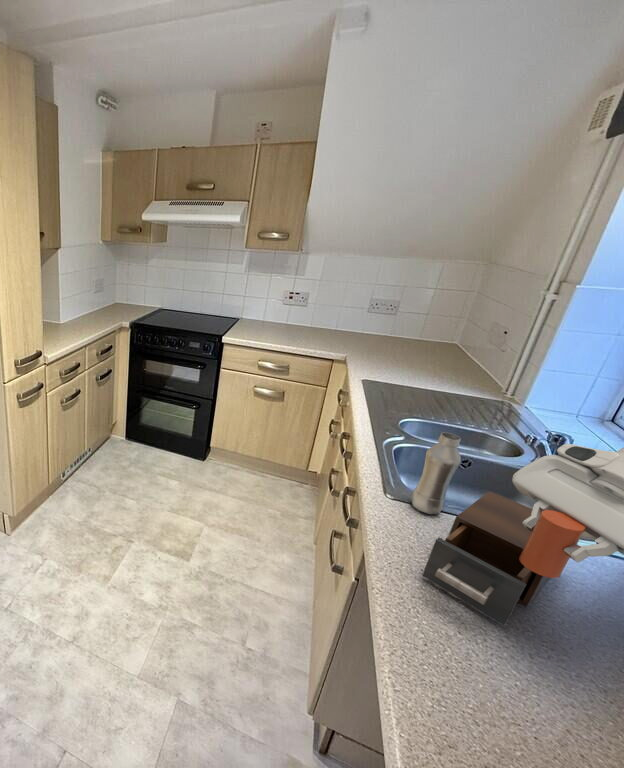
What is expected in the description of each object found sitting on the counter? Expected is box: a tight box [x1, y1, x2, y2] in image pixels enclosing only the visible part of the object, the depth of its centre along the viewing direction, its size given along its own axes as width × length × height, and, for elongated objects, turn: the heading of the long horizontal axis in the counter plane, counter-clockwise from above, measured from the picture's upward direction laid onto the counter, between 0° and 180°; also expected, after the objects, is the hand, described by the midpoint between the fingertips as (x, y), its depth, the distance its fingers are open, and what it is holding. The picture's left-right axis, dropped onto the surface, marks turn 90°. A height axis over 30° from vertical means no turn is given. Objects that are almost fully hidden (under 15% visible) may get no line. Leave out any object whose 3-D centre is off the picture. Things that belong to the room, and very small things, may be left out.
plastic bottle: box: [410, 432, 462, 515], centre depth 96 cm, size 6×7×20 cm
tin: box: [519, 510, 585, 579], centre depth 63 cm, size 5×5×9 cm
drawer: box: [421, 524, 536, 627], centre depth 75 cm, size 20×12×9 cm, turn 122°
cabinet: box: [448, 490, 550, 608], centre depth 82 cm, size 17×14×11 cm
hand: (547, 541), depth 63 cm, fingers closed on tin, 4 cm apart
